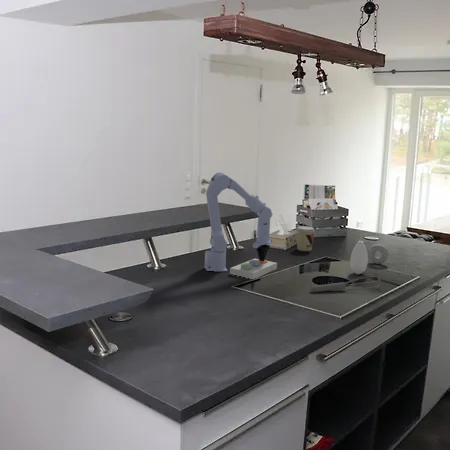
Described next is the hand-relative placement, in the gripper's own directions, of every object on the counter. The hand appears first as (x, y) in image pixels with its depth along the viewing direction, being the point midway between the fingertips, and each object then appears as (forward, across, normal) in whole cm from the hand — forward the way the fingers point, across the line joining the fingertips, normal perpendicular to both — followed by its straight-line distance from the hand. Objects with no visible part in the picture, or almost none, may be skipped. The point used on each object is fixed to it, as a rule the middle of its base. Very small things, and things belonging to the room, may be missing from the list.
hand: (261, 260), depth 253 cm
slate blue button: (+2, -7, 0) cm, 7 cm away
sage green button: (+2, -14, 0) cm, 14 cm away
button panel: (+4, -7, 0) cm, 8 cm away
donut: (+4, +46, -40) cm, 61 cm away
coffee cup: (+4, +49, +1) cm, 49 cm away
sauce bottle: (+4, +22, -39) cm, 45 cm away
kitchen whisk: (+4, -6, -43) cm, 44 cm away
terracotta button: (+3, 0, 0) cm, 3 cm away
